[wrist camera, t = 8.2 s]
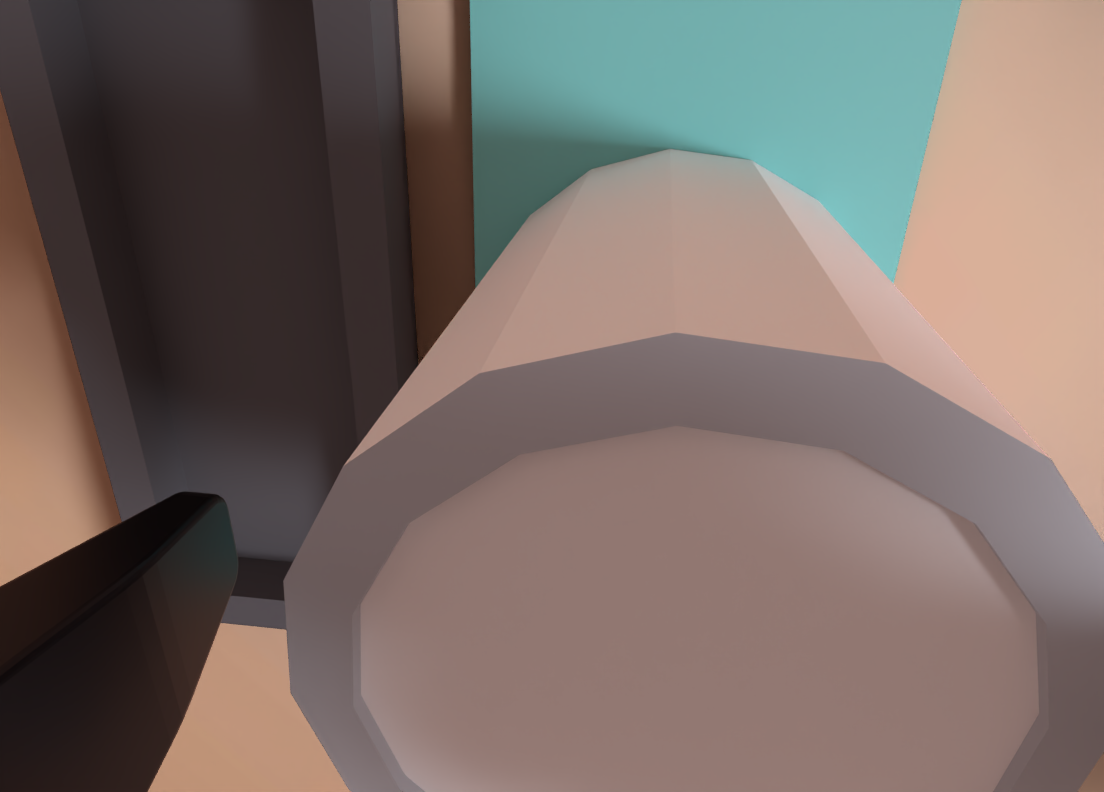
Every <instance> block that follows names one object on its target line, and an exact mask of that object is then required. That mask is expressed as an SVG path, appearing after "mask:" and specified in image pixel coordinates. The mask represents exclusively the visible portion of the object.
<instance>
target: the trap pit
mask: <svg viewBox="0 0 1104 792" xmlns="http://www.w3.org/2000/svg"><path fill="white" fill-rule="evenodd" d="M0 90H1V94H2V97H3V101H4V105H5V108H6V112H7V115H8V119H9V122H10V126H11V129H12V133H13V137H14V140H15V144H16V147H17V151H18V154H19V158H20V161H21V165H22V169H23V172H24V176H25V179H26V183H27V186H28V190H29V193H30V197H31V201H32V204H33V208H34V211H35V215H36V218H37V222H38V225H39V229H40V233H41V236H42V240H43V243H44V247H45V250H46V254H47V257H48V261H49V265H50V268H51V272H52V275H53V279H54V282H55V286H56V289H57V293H58V297H59V300H60V304H61V307H62V311H63V314H64V318H65V321H66V325H67V329H68V332H69V336H70V339H71V343H72V346H73V350H74V353H75V357H76V361H77V364H78V368H79V371H80V375H81V378H82V382H83V385H84V389H85V393H86V396H87V400H88V403H89V407H90V410H91V414H92V417H93V421H94V425H95V428H96V432H97V435H98V439H99V442H100V446H101V449H102V453H103V457H104V460H105V464H106V467H107V471H108V474H109V478H110V481H111V485H112V489H113V492H114V496H115V499H116V503H117V506H118V510H119V513H120V517H121V521H122V522H123V521H125V520H127V519H129V518H130V517H132V516H134V515H136V514H138V513H140V512H142V511H144V510H146V509H147V508H149V507H151V506H153V505H155V504H157V503H159V502H161V501H162V500H164V499H166V498H168V497H170V496H172V495H174V494H176V493H178V492H186V491H188V492H199V493H211V494H217V495H219V496H221V497H222V498H223V499H224V500H225V502H226V504H227V507H228V510H229V515H230V520H231V525H232V530H233V535H234V540H235V545H236V550H237V555H238V575H237V579H236V583H235V586H234V588H233V591H232V594H231V596H230V599H229V602H228V604H227V607H226V610H225V612H224V615H223V617H222V620H221V623H228V624H238V625H248V626H257V627H267V628H277V629H286V613H285V598H284V583H283V580H284V578H285V576H286V575H287V573H288V571H289V569H290V567H291V565H292V563H293V561H294V559H295V557H296V555H297V554H298V552H299V550H300V548H301V546H302V544H303V542H304V540H305V538H306V536H307V534H308V533H309V531H310V529H311V527H312V525H313V523H314V521H315V519H316V517H317V515H318V513H319V512H320V510H321V508H322V506H323V504H324V502H325V500H326V498H327V496H328V494H329V492H330V491H331V489H332V487H333V485H334V483H335V481H336V479H337V477H338V475H339V473H340V471H341V470H342V468H343V466H344V464H345V463H346V462H347V460H348V459H349V458H350V456H351V455H352V454H353V452H354V451H355V450H356V448H357V447H358V446H359V444H360V443H361V442H362V440H363V439H364V438H365V436H366V435H367V434H368V432H369V431H370V430H371V428H372V427H373V425H374V424H375V423H376V421H377V420H378V419H379V417H380V416H381V415H382V413H383V412H384V411H385V409H386V408H387V407H388V405H389V404H390V403H391V401H392V400H393V399H394V397H395V396H396V395H397V393H398V392H399V391H400V389H401V388H402V387H403V385H404V384H405V382H406V381H407V380H408V378H409V377H410V376H411V374H412V373H413V372H414V370H415V369H416V368H417V366H418V354H417V337H416V320H415V302H414V285H413V268H412V251H411V233H410V216H409V199H408V181H407V164H406V147H405V130H404V112H403V95H402V78H401V61H400V43H399V26H398V9H397V0H0Z"/></svg>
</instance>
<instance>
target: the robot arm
mask: <svg viewBox="0 0 1104 792" xmlns="http://www.w3.org/2000/svg"><path fill="white" fill-rule="evenodd" d="M237 575H238V555H237V550H236V545H235V540H234V535H233V530H232V525H231V520H230V515H229V510H228V507H227V504H226V502H225V500H224V499H223V498H222V497H221V496H219V495H217V494H211V493H199V492H188V491H186V492H178V493H176V494H174V495H172V496H170V497H168V498H166V499H164V500H162V501H161V502H159V503H157V504H155V505H153V506H151V507H149V508H147V509H146V510H144V511H142V512H140V513H138V514H136V515H134V516H132V517H130V518H129V519H127V520H125V521H123V522H121V523H119V524H117V525H115V526H113V527H112V528H110V529H108V530H106V531H104V532H102V533H100V534H98V535H97V536H95V537H93V538H91V539H89V540H87V541H85V542H83V543H81V544H80V545H78V546H76V547H74V548H72V549H70V550H68V551H66V552H65V553H63V554H61V555H59V556H57V557H55V558H53V559H51V560H49V561H48V562H46V563H44V564H42V565H40V566H38V567H36V568H34V569H32V570H31V571H29V572H27V573H25V574H23V575H21V576H19V577H17V578H15V579H14V580H12V581H10V582H8V583H6V584H4V585H2V586H0V792H148V790H149V788H150V786H151V784H152V782H153V780H154V778H155V776H156V774H157V772H158V770H159V768H160V766H161V764H162V762H163V760H164V758H165V756H166V754H167V752H168V750H169V748H170V746H171V744H172V742H173V740H174V738H175V736H176V734H177V732H178V730H179V728H180V726H181V723H182V721H183V719H184V717H185V714H186V712H187V709H188V707H189V704H190V702H191V700H192V697H193V694H194V692H195V689H196V687H197V684H198V681H199V679H200V676H201V673H202V671H203V668H204V665H205V663H206V660H207V657H208V655H209V652H210V649H211V647H212V644H213V641H214V639H215V636H216V633H217V631H218V628H219V625H220V623H221V620H222V617H223V615H224V612H225V610H226V607H227V604H228V602H229V599H230V596H231V594H232V591H233V588H234V586H235V583H236V579H237Z"/></svg>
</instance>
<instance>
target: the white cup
mask: <svg viewBox="0 0 1104 792" xmlns="http://www.w3.org/2000/svg"><path fill="white" fill-rule="evenodd" d="M283 583H284V598H285V613H286V629H287V644H288V659H289V675H290V690H291V694H292V696H293V698H294V699H295V701H296V703H297V704H298V706H299V708H300V709H301V711H302V713H303V714H304V716H305V718H306V719H307V721H308V723H309V724H310V726H311V728H312V729H313V731H314V732H315V734H316V736H317V737H318V739H319V741H320V742H321V744H322V746H323V747H324V749H325V751H326V752H327V754H328V756H329V757H330V759H331V761H332V762H333V764H334V766H335V767H336V769H337V771H338V772H339V774H340V776H341V777H342V779H343V781H344V782H345V784H346V786H347V787H348V789H349V790H350V791H351V792H1077V791H1078V790H1079V788H1080V787H1081V785H1082V784H1083V782H1084V781H1085V779H1086V778H1087V776H1088V775H1089V773H1090V772H1091V770H1092V769H1093V767H1094V766H1095V764H1096V763H1097V761H1098V760H1099V758H1100V757H1101V755H1102V754H1103V752H1104V542H1103V541H1102V539H1101V538H1100V536H1099V534H1098V533H1097V531H1096V530H1095V528H1094V527H1093V525H1092V523H1091V522H1090V520H1089V519H1088V517H1087V515H1086V514H1085V512H1084V511H1083V509H1082V508H1081V506H1080V504H1079V503H1078V501H1077V500H1076V498H1075V496H1074V495H1073V493H1072V492H1071V490H1070V489H1069V487H1068V485H1067V484H1066V482H1065V481H1064V479H1063V477H1062V476H1061V474H1060V473H1059V471H1058V470H1057V468H1056V466H1055V465H1054V463H1053V462H1052V460H1051V459H1050V457H1049V456H1048V455H1047V454H1046V453H1045V452H1044V451H1043V450H1042V449H1041V447H1040V446H1039V445H1038V444H1037V443H1036V442H1035V441H1034V440H1033V439H1032V437H1031V436H1030V435H1029V434H1028V433H1027V432H1026V431H1025V430H1024V429H1023V427H1022V426H1021V425H1020V424H1019V423H1018V422H1017V421H1016V420H1015V419H1014V417H1013V416H1012V415H1011V414H1010V413H1009V412H1008V411H1007V410H1006V409H1005V407H1004V406H1003V405H1002V404H1001V403H1000V402H999V401H998V400H997V399H996V397H995V396H994V395H993V394H992V393H991V392H990V391H989V390H988V389H987V387H986V386H985V385H984V384H983V383H982V382H981V381H980V380H979V379H978V377H977V376H976V375H975V374H974V373H973V372H972V371H971V370H970V369H969V367H968V366H967V365H966V364H965V363H964V362H963V361H962V360H961V359H960V357H959V356H958V355H957V354H956V353H955V352H954V351H953V350H952V348H951V347H950V346H949V345H948V344H947V343H946V342H945V341H944V340H943V338H942V337H941V336H940V335H939V334H938V333H937V332H936V331H935V330H934V328H933V327H932V326H931V325H930V324H929V323H928V322H927V321H926V320H925V318H924V317H923V316H922V315H921V314H920V313H919V312H918V311H917V310H916V308H915V307H914V306H913V305H912V304H911V303H910V302H909V301H908V300H907V298H906V297H905V296H904V295H903V294H902V293H901V292H900V291H899V290H898V288H897V287H896V286H895V285H894V284H893V283H892V282H891V281H890V280H889V278H888V277H887V276H886V275H885V274H884V273H883V272H882V271H881V270H880V268H879V267H878V266H877V265H876V264H875V263H874V262H873V261H872V260H871V258H870V257H869V256H868V255H867V254H866V253H865V252H864V251H863V250H862V248H861V247H860V246H859V245H858V244H857V243H856V242H855V241H854V240H853V238H852V237H851V236H850V235H849V234H848V233H847V232H846V231H845V230H844V228H843V227H842V226H841V225H840V224H839V223H838V222H837V221H836V220H835V218H834V217H833V216H832V215H831V214H830V213H829V212H828V211H827V210H826V208H825V207H824V206H823V205H822V204H821V203H820V202H819V201H818V200H816V199H815V198H813V197H811V196H810V195H808V194H806V193H805V192H803V191H802V190H800V189H798V188H797V187H795V186H793V185H792V184H790V183H788V182H787V181H785V180H783V179H782V178H780V177H778V176H777V175H775V174H773V173H772V172H770V171H769V170H767V169H765V168H764V167H762V166H760V165H759V164H757V163H755V162H754V161H752V160H747V159H740V158H733V157H725V156H718V155H711V154H704V153H696V152H689V151H682V150H675V149H667V150H663V151H660V152H656V153H652V154H648V155H644V156H640V157H636V158H632V159H629V160H625V161H621V162H617V163H613V164H609V165H605V166H601V167H597V168H594V169H591V170H589V171H588V172H587V173H585V174H584V175H583V176H581V177H580V178H579V179H577V180H576V181H575V182H573V183H572V184H571V185H569V186H568V187H567V188H565V189H564V190H563V191H561V192H560V193H559V194H558V195H556V196H555V197H554V198H552V199H551V200H550V201H548V202H547V203H546V204H544V205H543V206H542V207H540V208H539V209H538V210H536V211H535V212H534V213H532V214H531V215H530V216H529V217H528V219H527V220H526V221H525V223H524V224H523V225H522V227H521V228H520V229H519V231H518V232H517V233H516V235H515V236H514V237H513V239H512V240H511V241H510V243H509V244H508V245H507V247H506V248H505V249H504V251H503V252H502V253H501V255H500V256H499V258H498V259H497V260H496V262H495V263H494V264H493V266H492V267H491V268H490V270H489V271H488V272H487V274H486V275H485V276H484V278H483V279H482V280H481V282H480V283H479V284H478V286H477V287H476V288H475V290H474V291H473V292H472V294H471V295H470V296H469V298H468V299H467V301H466V302H465V303H464V305H463V306H462V307H461V309H460V310H459V311H458V313H457V314H456V315H455V317H454V318H453V319H452V321H451V322H450V323H449V325H448V326H447V327H446V329H445V330H444V331H443V333H442V334H441V335H440V337H439V338H438V339H437V341H436V342H435V344H434V345H433V346H432V348H431V349H430V350H429V352H428V353H427V354H426V356H425V357H424V358H423V360H422V361H421V362H420V364H419V365H418V366H417V368H416V369H415V370H414V372H413V373H412V374H411V376H410V377H409V378H408V380H407V381H406V382H405V384H404V385H403V387H402V388H401V389H400V391H399V392H398V393H397V395H396V396H395V397H394V399H393V400H392V401H391V403H390V404H389V405H388V407H387V408H386V409H385V411H384V412H383V413H382V415H381V416H380V417H379V419H378V420H377V421H376V423H375V424H374V425H373V427H372V428H371V430H370V431H369V432H368V434H367V435H366V436H365V438H364V439H363V440H362V442H361V443H360V444H359V446H358V447H357V448H356V450H355V451H354V452H353V454H352V455H351V456H350V458H349V459H348V460H347V462H346V463H345V464H344V466H343V468H342V470H341V471H340V473H339V475H338V477H337V479H336V481H335V483H334V485H333V487H332V489H331V491H330V492H329V494H328V496H327V498H326V500H325V502H324V504H323V506H322V508H321V510H320V512H319V513H318V515H317V517H316V519H315V521H314V523H313V525H312V527H311V529H310V531H309V533H308V534H307V536H306V538H305V540H304V542H303V544H302V546H301V548H300V550H299V552H298V554H297V555H296V557H295V559H294V561H293V563H292V565H291V567H290V569H289V571H288V573H287V575H286V576H285V578H284V580H283Z"/></svg>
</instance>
